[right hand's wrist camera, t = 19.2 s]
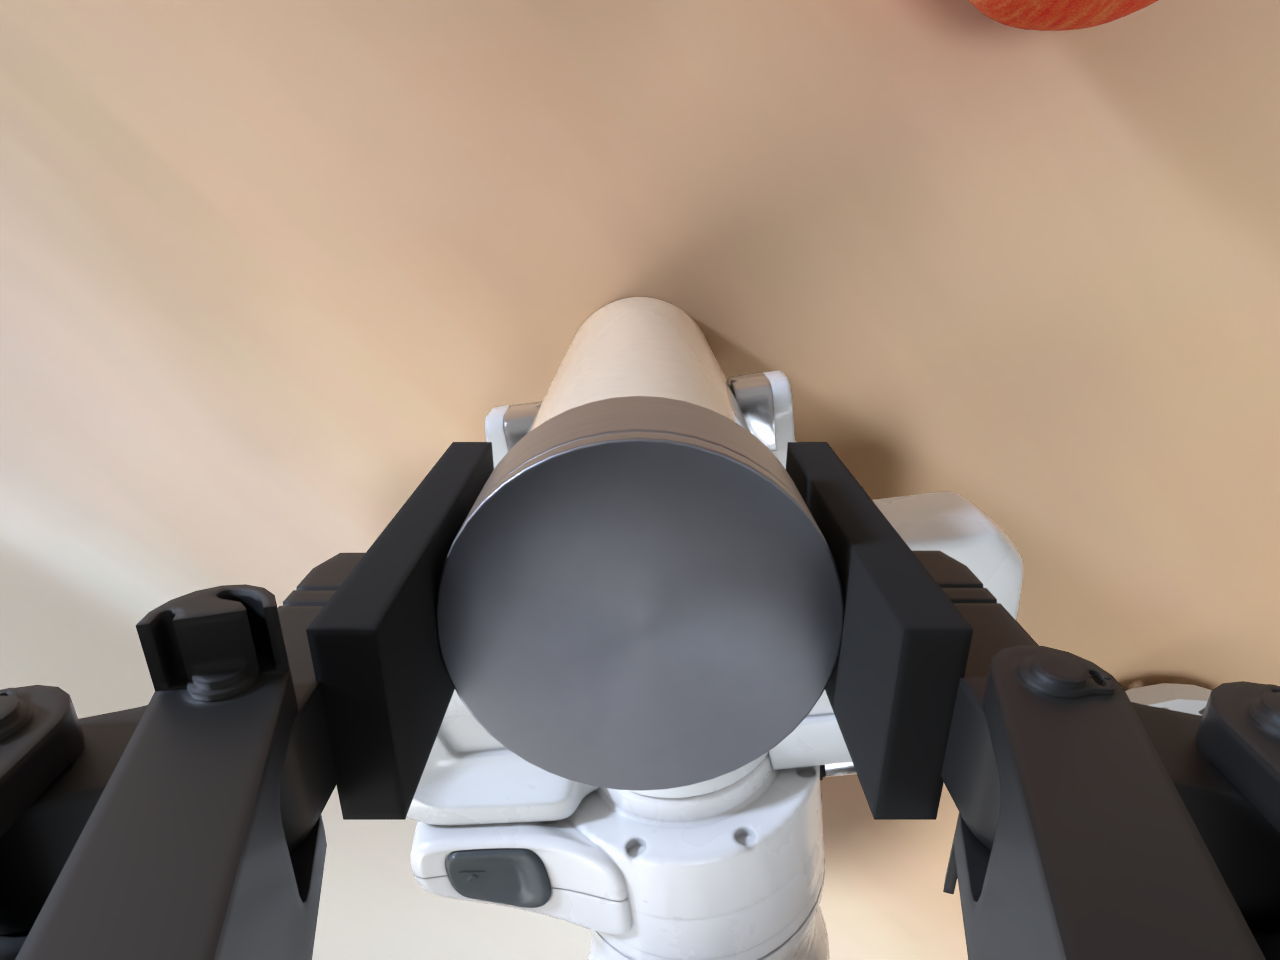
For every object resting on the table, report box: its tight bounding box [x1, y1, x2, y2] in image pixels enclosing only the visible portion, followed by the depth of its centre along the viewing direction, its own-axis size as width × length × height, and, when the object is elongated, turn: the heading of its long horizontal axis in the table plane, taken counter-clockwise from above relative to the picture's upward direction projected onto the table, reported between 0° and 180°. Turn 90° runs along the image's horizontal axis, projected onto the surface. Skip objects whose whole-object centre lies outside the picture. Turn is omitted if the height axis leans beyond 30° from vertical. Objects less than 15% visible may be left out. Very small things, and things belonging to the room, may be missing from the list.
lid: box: [435, 396, 844, 791], centre depth 11 cm, size 6×6×2 cm
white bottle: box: [527, 297, 753, 434], centre depth 18 cm, size 5×5×16 cm
